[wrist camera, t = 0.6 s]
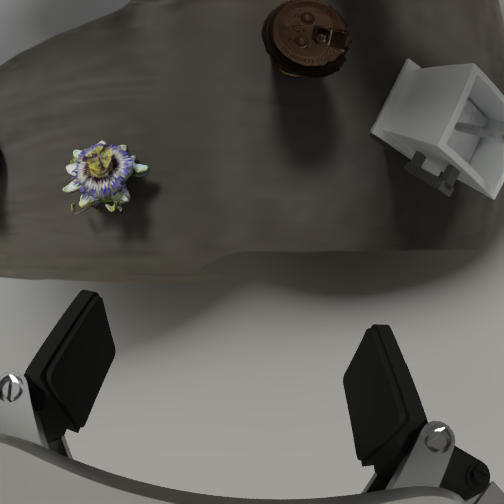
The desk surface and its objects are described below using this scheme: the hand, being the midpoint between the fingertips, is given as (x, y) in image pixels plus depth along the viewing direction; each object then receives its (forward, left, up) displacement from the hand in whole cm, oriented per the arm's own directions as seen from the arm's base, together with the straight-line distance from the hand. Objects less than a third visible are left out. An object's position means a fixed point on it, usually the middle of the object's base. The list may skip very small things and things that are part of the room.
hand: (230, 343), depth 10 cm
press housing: (-18, +19, -32) cm, 41 cm away
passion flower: (+9, -18, -33) cm, 39 cm away
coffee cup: (-16, -1, -33) cm, 36 cm away
